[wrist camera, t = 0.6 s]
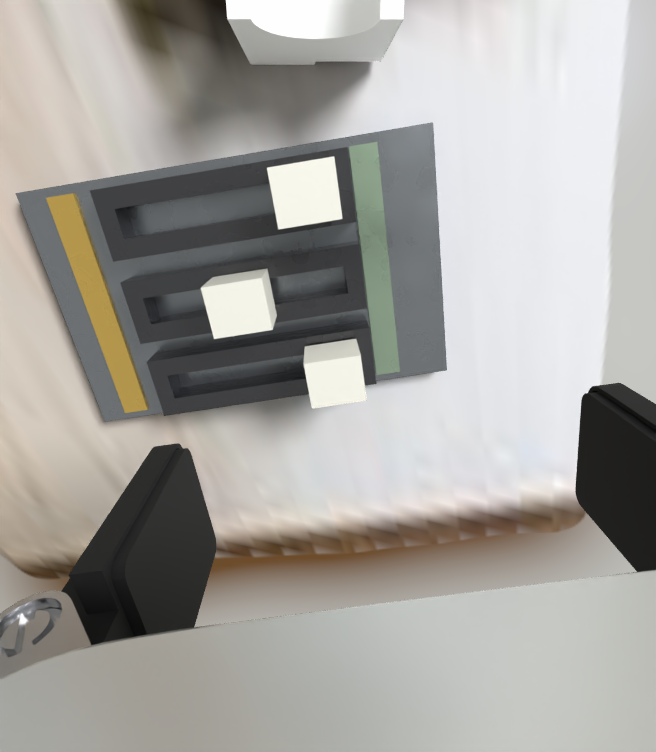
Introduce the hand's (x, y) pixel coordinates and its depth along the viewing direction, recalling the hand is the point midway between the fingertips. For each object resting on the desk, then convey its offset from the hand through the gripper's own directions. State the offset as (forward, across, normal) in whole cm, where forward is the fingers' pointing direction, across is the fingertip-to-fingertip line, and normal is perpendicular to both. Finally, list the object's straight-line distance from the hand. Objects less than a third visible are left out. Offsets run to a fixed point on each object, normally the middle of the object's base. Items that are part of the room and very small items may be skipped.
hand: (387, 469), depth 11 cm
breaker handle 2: (+19, +1, +3) cm, 20 cm away
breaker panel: (+20, +6, -2) cm, 21 cm away
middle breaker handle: (+19, +6, -2) cm, 20 cm away
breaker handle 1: (+19, +1, -7) cm, 20 cm away
